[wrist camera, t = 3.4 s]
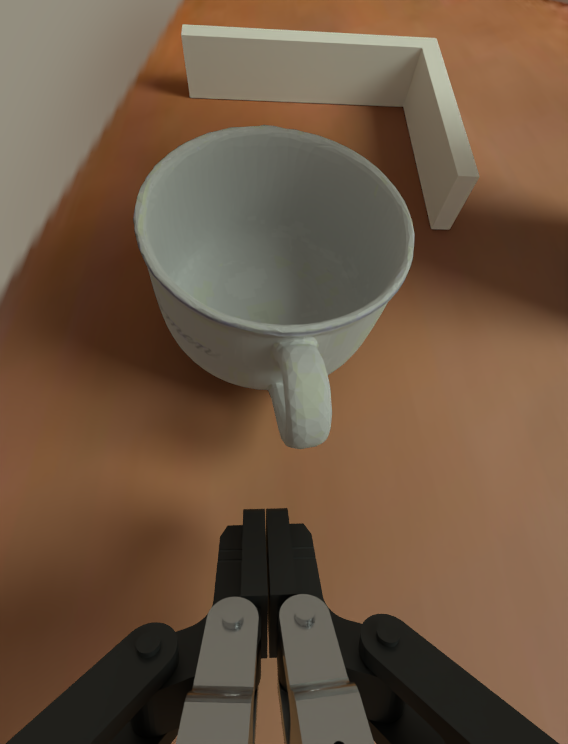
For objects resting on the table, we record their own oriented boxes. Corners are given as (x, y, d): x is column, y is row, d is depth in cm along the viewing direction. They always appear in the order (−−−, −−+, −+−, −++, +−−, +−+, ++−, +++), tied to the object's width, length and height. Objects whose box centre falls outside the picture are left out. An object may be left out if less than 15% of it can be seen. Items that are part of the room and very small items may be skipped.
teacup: (186, 237, 26) (159, 105, 18) (365, 251, 26) (409, 127, 19) (142, 470, 20) (77, 411, 12) (376, 484, 20) (445, 435, 13)
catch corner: (416, 97, 33) (436, 38, 29) (449, 229, 27) (479, 176, 23) (190, 87, 31) (182, 24, 28) (177, 223, 26) (164, 166, 22)
